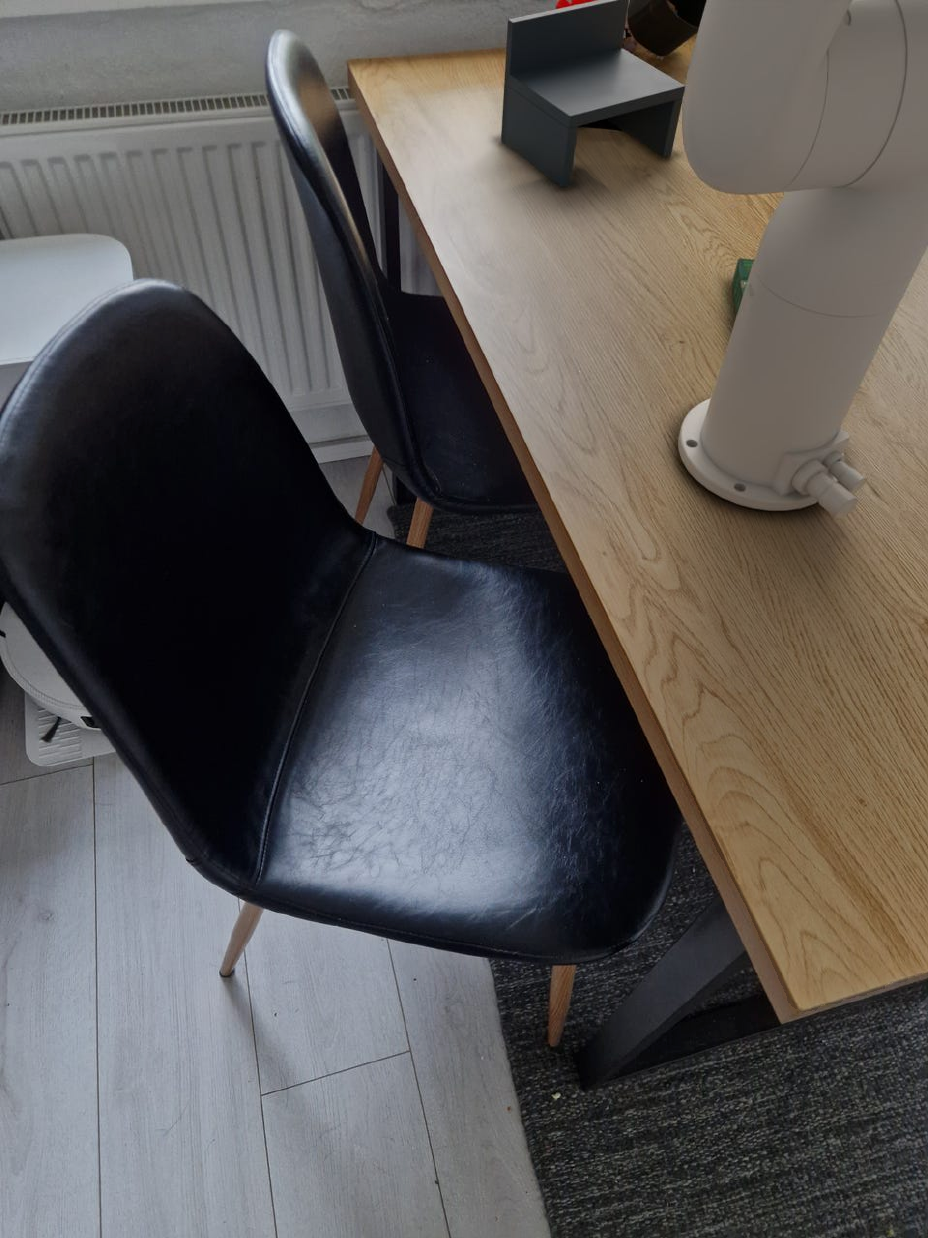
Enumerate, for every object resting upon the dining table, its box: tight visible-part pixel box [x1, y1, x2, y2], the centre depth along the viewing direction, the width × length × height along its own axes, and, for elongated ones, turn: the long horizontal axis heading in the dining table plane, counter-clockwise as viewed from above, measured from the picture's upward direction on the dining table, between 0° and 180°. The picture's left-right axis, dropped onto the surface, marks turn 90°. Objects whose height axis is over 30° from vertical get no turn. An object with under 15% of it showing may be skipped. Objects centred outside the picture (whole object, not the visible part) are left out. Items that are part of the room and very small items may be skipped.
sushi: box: [625, 0, 707, 61], centre depth 110 cm, size 8×8×8 cm
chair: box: [500, 0, 685, 188], centre depth 94 cm, size 12×15×12 cm
